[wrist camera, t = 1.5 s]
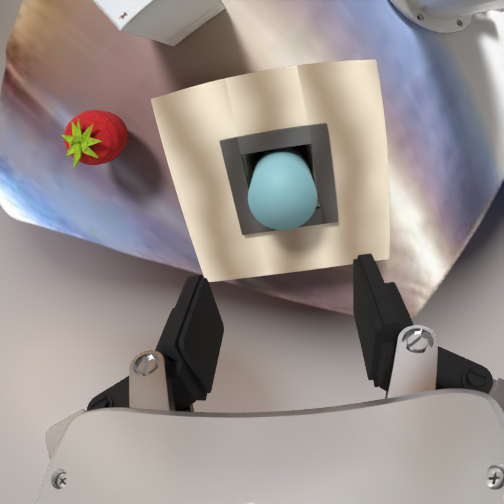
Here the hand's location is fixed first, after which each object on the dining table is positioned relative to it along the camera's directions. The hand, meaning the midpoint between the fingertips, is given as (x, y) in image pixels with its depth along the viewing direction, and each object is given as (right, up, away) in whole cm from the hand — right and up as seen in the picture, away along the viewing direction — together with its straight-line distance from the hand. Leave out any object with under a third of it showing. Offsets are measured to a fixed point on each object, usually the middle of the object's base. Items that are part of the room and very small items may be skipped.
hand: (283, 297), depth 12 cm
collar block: (+2, +12, +20) cm, 24 cm away
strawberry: (-17, +17, +20) cm, 31 cm away
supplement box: (-9, +28, +12) cm, 32 cm away
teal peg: (+1, +9, +15) cm, 18 cm away
